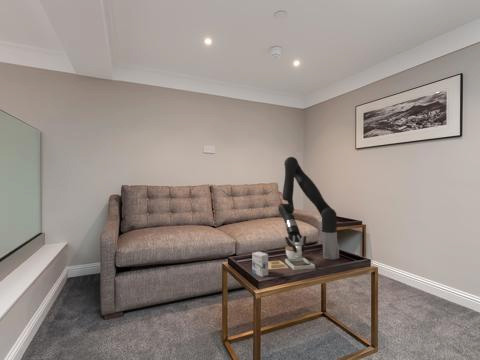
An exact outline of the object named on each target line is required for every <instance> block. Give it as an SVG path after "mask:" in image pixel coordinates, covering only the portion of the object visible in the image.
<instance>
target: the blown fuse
mask: <svg viewBox="0 0 480 360" xmlns="http://www.w3.org/2000/svg"><path fill="white" fill-rule="evenodd" d="M302 243H303V242H302ZM302 243H301V242H295V246H296V250H297V252H296V253H295V258H297V259H301V258H303V252H302Z"/></svg>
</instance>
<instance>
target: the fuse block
mask: <svg viewBox="0 0 480 360" xmlns="http://www.w3.org/2000/svg"><path fill="white" fill-rule="evenodd" d="M278 269H289V267H288V265H286V264H285V263H284V262H283V261H281V260H271V261H270V260H268V270H278Z"/></svg>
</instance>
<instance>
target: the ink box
mask: <svg viewBox="0 0 480 360" xmlns="http://www.w3.org/2000/svg"><path fill="white" fill-rule="evenodd" d="M251 255H252V256H251V257H252V259H251V260H252V261H251V262H252V264H251V266H252V268H251V269H252V271H251V273H252V274H255V275H257V276H259V277H261V278H262V277H265V276H269V269H268V261H269V254H268V253H265V252H262V251H255V252H252V253H251Z"/></svg>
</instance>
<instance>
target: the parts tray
mask: <svg viewBox="0 0 480 360" xmlns="http://www.w3.org/2000/svg"><path fill="white" fill-rule="evenodd" d="M284 262H285V263H286V264H287V266H289V267H290V268H291V269H292V270H293V271H298V270H310V269H314V270H315V269H316V265H315V264H314V263H313V262H311V261H309V260H308V259H307V258H305V257H302V258H301V259H297V258H291V259H289V258H284ZM292 262H304V263H306V265H294V264H293V263H292Z"/></svg>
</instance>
